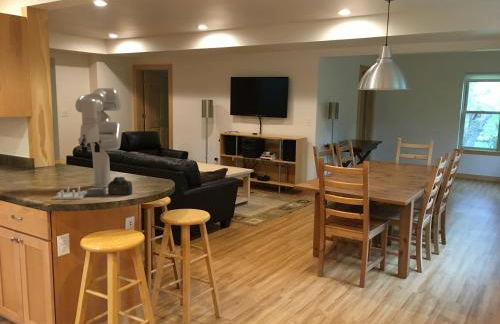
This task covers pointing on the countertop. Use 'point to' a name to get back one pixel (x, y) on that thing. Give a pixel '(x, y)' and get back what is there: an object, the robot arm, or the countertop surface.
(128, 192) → the camera
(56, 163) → the countertop surface
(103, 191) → the drive
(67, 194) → the grey pegged board
